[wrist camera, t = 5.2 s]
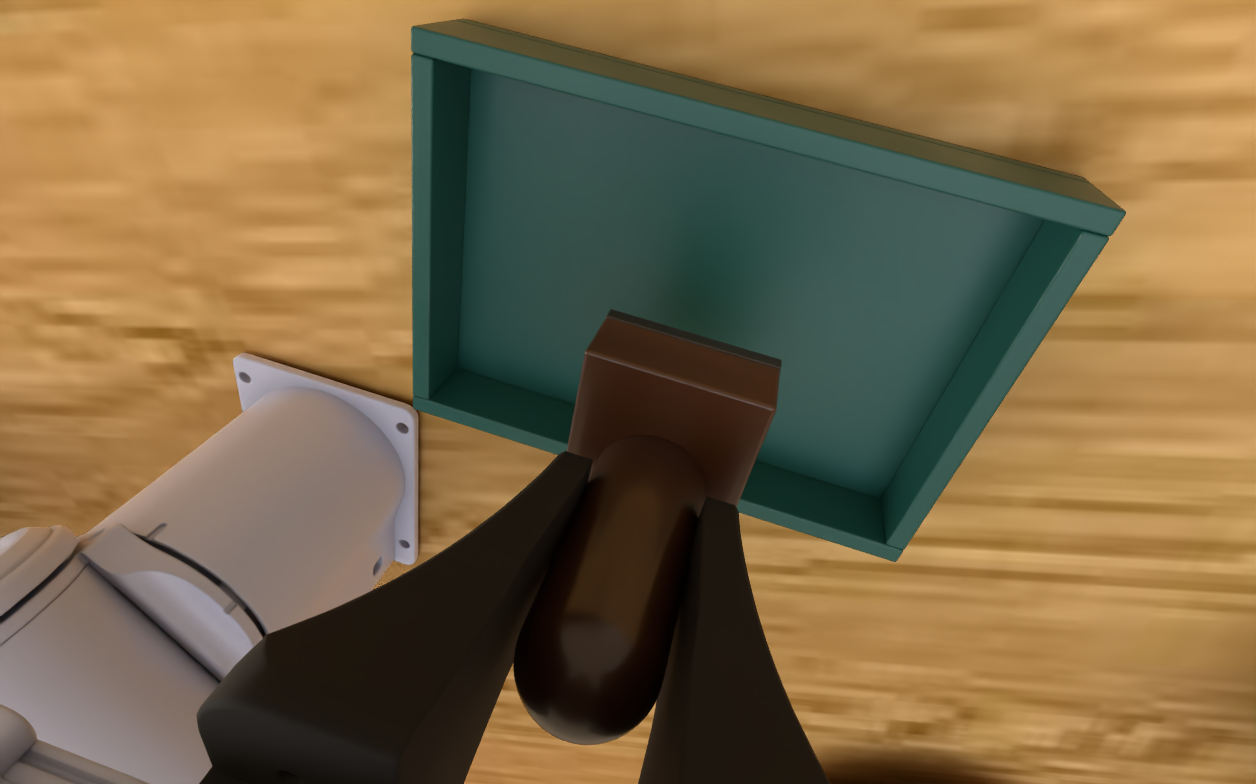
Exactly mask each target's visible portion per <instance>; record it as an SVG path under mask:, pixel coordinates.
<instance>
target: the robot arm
mask: <svg viewBox="0 0 1256 784" xmlns="http://www.w3.org/2000/svg"><path fill="white" fill-rule="evenodd" d="M233 366H234V371H235V376H236V381H237V386H238V391H239V396H240V401H241V406H242V411H243V413H241V414H240V415H239V416H237V417H236V418H235V419H234V420H232V421H231V422H230V423H228V424H227V425H226V426H224V427H223V428H222V429H221V430H219V431H218V432H217V433H215V434H214V435H213V436H211V437H210V438H209V439H208V440H206V441H205V442H204V443H202V444H201V445H200V446H199V447H197V448H196V449H195V450H193V451H192V452H191V453H189V454H188V455H187V456H186V457H184V458H183V459H182V460H180V461H179V462H178V463H176V464H175V465H174V466H173V467H171V468H170V469H169V470H167V471H166V472H165V473H164V474H162V475H161V476H160V477H158V478H157V479H156V480H154V481H153V482H152V483H151V484H149V485H148V486H147V487H145V488H144V489H143V490H142V491H140V492H139V493H138V494H136V495H135V496H134V497H132V498H131V499H130V500H129V501H127V502H126V503H125V504H123V505H122V506H121V507H119V508H118V509H117V510H116V511H114V512H113V513H112V514H110V515H109V516H108V517H107V518H105V519H104V520H103V521H101V522H100V523H99V524H97V525H96V526H95V527H94V528H92V529H91V530H90V531H88V532H87V533H86V534H83V535H80V536H77V537H76V536H75V534H74V533H73V532H72V531H71V530H70V529H69V528H68V527H66V526H64V525H55V526H51V527H25V528H21V529H19V530H16V531H14V532H12V533H10V534H8V535H6V536H4V537H2V538H0V784H464V781H465V779H466V776H467V774H468V771H469V768H470V766H471V763H472V761H473V758H474V756H475V753H476V751H477V748H478V746H479V743H480V741H481V738H482V736H483V733H484V731H485V728H486V726H487V723H488V721H489V719H490V716H491V714H492V711H493V709H494V706H495V704H496V701H497V699H498V697H499V694H500V692H501V689H502V687H503V684H504V682H505V679H506V677H507V675H508V673H509V671H510V669H511V666H512V664H513V662H514V651H515V647H516V642H517V638H518V635H519V633H520V630H521V628H522V625H523V623H524V621H525V619H526V617H527V614H528V612H529V610H530V608H531V606H532V603H533V601H534V599H535V597H536V595H537V592H538V590H539V588H540V586H541V584H542V581H543V579H544V577H545V575H546V573H547V570H548V568H549V566H550V564H551V562H552V559H553V557H554V555H555V553H556V551H557V548H558V546H559V544H560V542H561V540H562V537H563V535H564V533H565V531H566V529H567V527H568V525H569V523H570V521H571V519H572V517H573V515H574V512H575V510H576V508H577V506H578V504H579V501H580V499H581V497H582V495H583V492H584V490H585V488H586V486H587V484H588V480H589V475H590V471H591V466H592V462H593V460H592V459H589V458H586V457H583V456H580V455H577V454H574V453H570V452H567V451H564V452H562V453H560V454H559V455H558V456H557V457H556V458H555V459H554V460H553V461H552V462H551V464H550V465H549V466H548V467H547V468H546V469H545V470H544V471H543V472H542V473H541V474H540V475H539V476H538V477H537V478H535V479H534V480H533V481H532V482H531V483H530V484H529V485H528V486H527V487H526V488H525V489H524V490H522V491H521V492H520V493H519V494H518V495H517V496H515V497H514V498H513V499H512V500H511V501H509V502H508V503H507V504H506V505H505V506H504V507H502V508H501V509H500V510H499V511H498V512H496V513H495V514H494V515H492V516H491V517H490V518H488V519H487V520H486V521H484V522H483V523H482V524H480V525H479V526H478V527H476V528H475V529H474V530H473V531H471V532H470V533H469V534H467V535H466V536H464V537H463V538H461V539H460V540H458V541H457V542H456V543H454V544H453V545H451V546H450V547H448V548H447V549H445V550H443V551H442V552H440V553H439V554H437V555H435V556H434V557H432V558H431V559H429V560H427V561H426V562H424V563H422V564H421V565H419V566H417V567H415V568H414V569H412V570H410V571H408V572H407V573H405V574H403V575H401V576H399V577H398V578H396V579H394V580H392V581H390V582H388V583H386V584H384V585H382V586H380V587H378V588H376V589H374V590H372V589H373V588H374V587H375V585H376V584H377V582H378V581H379V580H380V578H381V577H382V576H383V574H384V573H385V571H386V570H387V569H388V567H389V566H390V564H391V563H392V562H393V560H394V561H397V562H400V563H403V564H407V565H411V564H413V563H415V561H416V560H417V558H418V413H417V412H416V410H415V409H413V407H412V406H410V405H408V404H406V403H403V402H399V401H396V400H393V399H390V398H387V397H384V396H381V395H377V394H374V393H371V392H368V391H365V390H362V389H359V388H355V387H352V386H349V385H346V384H343V383H340V382H337V381H333V380H330V379H327V378H324V377H321V376H318V375H314V374H311V373H308V372H305V371H302V370H299V369H296V368H292V367H289V366H286V365H283V364H280V363H277V362H274V361H270V360H267V359H264V358H261V357H258V356H255V355H252V354H248V353H241V354H239V355H237V356H236V357H235V358H234V359H233ZM402 423H403V424H405V425H406V426H407V427H408V428H407V427H406V426H404V425H403V424H402ZM638 784H831V783H830V781H829V780H828V778H827V776H826V774H825V772H824V771H823V769H822V767H821V765H820V763H819V761H818V759H817V757H816V755H815V753H814V751H813V749H812V747H811V745H810V743H809V741H808V739H807V737H806V735H805V733H804V731H803V729H802V727H801V725H800V723H799V721H798V719H797V717H796V715H795V713H794V710H793V708H792V706H791V703H790V701H789V699H788V696H787V694H786V692H785V689H784V687H783V685H782V682H781V680H780V677H779V674H778V672H777V669H776V667H775V664H774V661H773V659H772V656H771V653H770V650H769V647H768V644H767V641H766V638H765V635H764V632H763V629H762V626H761V622H760V619H759V616H758V612H757V609H756V605H755V601H754V598H753V593H752V589H751V585H750V581H749V577H748V573H747V568H746V563H745V558H744V552H743V547H742V540H741V533H740V524H739V511H738V509H737V507H736V506H735V505H733V504H730V503H726V502H723V501H720V500H717V499H714V498H711V497H708V496H706V499H705V501H704V504H703V507H702V509H701V512H700V515H699V518H698V522H697V526H696V531H695V535H694V540H693V544H692V549H691V553H690V559H689V565H688V571H687V576H686V582H685V586H684V591H683V595H682V600H681V604H680V609H679V613H678V618H677V622H676V627H675V631H674V636H673V640H672V645H671V649H670V654H669V658H668V663H667V667H666V672H665V676H664V680H663V684H662V687H661V691H660V694H659V696H658V698H657V702H656V708H655V713H654V719H653V724H652V729H651V733H650V737H649V741H648V746H647V750H646V754H645V758H644V762H643V766H642V770H641V774H640V778H639V782H638Z"/></svg>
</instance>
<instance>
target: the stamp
mask: <svg viewBox="0 0 1256 784" xmlns="http://www.w3.org/2000/svg"><path fill="white" fill-rule="evenodd" d="M781 366H782V360H781V359H778V358H774V357H771V356H768V355H764V354H761V353H757V352H754V351H751V350H747V349H744V348H741V347H737V346H734V345H731V344H727V343H724V342H721V341H717V340H714V339H710V338H707V337H704V336H700V335H697V334H694V333H690V332H687V331H684V330H680V329H677V328H674V327H670V326H667V325H663V324H660V323H657V322H653V321H650V320H647V319H643V318H640V317H637V316H633V315H630V314H627V313H623V312H620V311H617V310H613V309H610V311H609V312H608V314H607V315H606V318H605V320H604V321H603V323H602V325H601V326H600V328H599V330H598V331H597V333H596V334H595V336H594V338H593V339H592V341H591V343H590V344H589V346H588V347H587V349H586V351H585V354H584V359H583V364H582V370H581V375H580V381H579V386H578V392H577V397H576V403H575V408H574V414H573V419H572V424H571V430H570V435H569V441H568V446H567V452H570V453H574V454H577V455H580V456H583V457H586V458H589V459H592V460H593V462H592V466H591V471H590V475H589V480H588V484H587V486H586V488H585V490H584V492H583V495H582V497H581V499H580V501H579V504H578V506H577V508H576V510H575V512H574V515H573V517H572V519H571V521H570V523H569V525H568V527H567V529H566V531H565V533H564V535H563V537H562V540H561V542H560V544H559V546H558V548H557V551H556V553H555V555H554V557H553V559H552V562H551V564H550V566H549V568H548V570H547V573H546V575H545V577H544V579H543V581H542V584H541V586H540V588H539V590H538V592H537V595H536V597H535V599H534V601H533V603H532V606H531V608H530V610H529V612H528V614H527V617H526V619H525V621H524V623H523V625H522V628H521V630H520V633H519V635H518V638H517V642H516V647H515V651H514V677H515V683H516V687H517V691H518V694H519V696H520V699H521V701H522V703H523V705H524V707H525V708H526V710H527V712H528V713H529V715H530V716H531V717H532V718H533V720H534V721H535V722H536V723H537V724H538V725H539V726H540V727H541V728H542V729H544V730H545V731H546V732H548V733H549V734H551V735H553V736H555V737H557V738H559V739H561V740H563V741H566V742H570V743H574V744H579V745H595V744H603V743H606V742H609V741H613V740H616V739H618V738H620V737H622V736H623V735H625V734H627V733H628V732H630V731H631V730H632V729H634V728H635V727H636V726H638V725H639V724H640V722H641V721H642V720H643V719H644V718H645V717H646V716H647V715H648V713H649V712H650V710H651V709H652V707H653V706H654V704H655V702H656V700H657V698H658V696H659V694H660V691H661V687H662V684H663V680H664V676H665V672H666V667H667V663H668V658H669V654H670V649H671V645H672V640H673V636H674V631H675V627H676V622H677V618H678V613H679V609H680V604H681V600H682V595H683V591H684V586H685V582H686V576H687V571H688V565H689V559H690V553H691V549H692V544H693V540H694V535H695V531H696V526H697V522H698V518H699V515H700V512H701V509H702V507H703V504H704V501H705V499H706V496H708V497H711V498H714V499H717V500H720V501H723V502H726V503H730V504H733V505H735V506H736V507H737V504H738V502H739V500H740V497H741V495H742V492H743V490H744V488H745V485H746V483H747V480H748V478H749V475H750V473H751V471H752V468H753V466H754V463H755V461H756V459H757V456H758V454H759V451H760V449H761V447H762V444H763V442H764V439H765V437H766V434H767V432H768V430H769V427H770V425H771V422H772V420H773V418H774V415H775V413H776V410H777V400H778V391H779V381H780V371H781Z"/></svg>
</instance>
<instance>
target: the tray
mask: <svg viewBox="0 0 1256 784" xmlns="http://www.w3.org/2000/svg"><path fill="white" fill-rule="evenodd" d="M411 51H412V52H413V53H414V54H412V56H411V97H412V312H413V409H415V410H419V411H422V412H425V413H428V414H431V415H434V416H437V417H441V418H444V419H447V420H450V421H453V422H456V423H459V424H463V425H466V426H469V427H472V428H475V429H478V430H481V431H485V432H488V433H491V434H494V435H497V436H500V437H503V438H507V439H510V440H513V441H516V442H519V443H522V444H525V445H529V446H532V447H535V448H538V449H541V450H544V451H548V452H551V453H554V454H557V455H559V454H560V453H562V452H564V451H567V446H568V441H569V435H570V430H571V424H572V419H573V414H574V408H575V403H576V397H577V392H578V386H579V381H580V375H581V370H582V364H583V359H584V354H585V351H586V349H587V347H588V346H589V344H590V343H591V341H592V339H593V338H594V336H595V334H596V333H597V331H598V330H599V328H600V326H601V325H602V323H603V321H604V320H605V318H606V315H607V314H608V312H609V311H610V309H613V310H617V311H620V312H623V313H627V314H630V315H633V316H637V317H640V318H643V319H647V320H650V321H653V322H657V323H660V324H663V325H667V326H670V327H674V328H677V329H680V330H684V331H687V332H690V333H694V334H697V335H700V336H704V337H707V338H710V339H714V340H717V341H721V342H724V343H727V344H731V345H734V346H737V347H741V348H744V349H747V350H751V351H754V352H757V353H761V354H764V355H768V356H771V357H774V358H778V359H781V360H782V366H781V371H780V381H779V391H778V400H777V410H776V413H775V415H774V418H773V420H772V422H771V425H770V427H769V430H768V432H767V434H766V437H765V439H764V442H763V444H762V447H761V449H760V451H759V454H758V456H757V459H756V461H755V463H754V466H753V468H752V471H751V473H750V475H749V478H748V480H747V483H746V485H745V488H744V490H743V492H742V495H741V497H740V500H739V502H738V504H737V509H738V511H739V513H742V514H746V515H749V516H752V517H755V518H758V519H761V520H764V521H768V522H771V523H774V524H777V525H780V526H783V527H786V528H790V529H793V530H796V531H799V532H802V533H805V534H808V535H812V536H815V537H818V538H821V539H824V540H827V541H830V542H834V543H837V544H840V545H843V546H846V547H849V548H852V549H856V550H859V551H862V552H865V553H868V554H871V555H874V556H878V557H881V558H884V559H887V560H890V561H893V562H896V561H897V560H898V558H899V557H900V555H901V554H902V552H903V549H905V548H906V546H907V545H908V543H909V542H910V540H911V538H912V537H913V535H914V534H915V532H916V531H917V529H918V528H919V526H920V525H921V523H922V522H923V520H924V519H925V517H926V516H927V514H928V513H929V511H930V510H931V508H932V507H933V505H934V504H935V502H936V501H937V499H938V498H939V496H940V495H941V493H942V492H943V490H944V489H945V487H946V485H947V484H948V482H949V481H950V479H951V478H952V476H953V475H954V473H955V472H956V470H957V469H958V467H959V466H960V464H961V463H962V461H963V460H964V458H965V457H966V455H967V454H968V452H969V451H970V449H971V448H972V446H973V445H974V443H975V442H976V440H977V439H978V437H979V436H980V434H981V433H982V431H983V429H984V428H985V426H986V425H987V423H988V422H989V420H990V419H991V417H992V416H993V414H994V413H995V411H996V410H997V408H998V407H999V405H1000V404H1001V402H1002V401H1003V399H1004V398H1005V396H1006V395H1007V393H1008V392H1009V390H1010V389H1011V387H1012V386H1013V384H1014V383H1015V381H1016V380H1017V378H1018V376H1019V375H1020V373H1021V372H1022V370H1023V369H1024V367H1025V366H1026V364H1027V363H1028V361H1029V360H1030V358H1031V357H1032V355H1033V354H1034V352H1035V351H1036V349H1037V348H1038V346H1039V345H1040V343H1041V342H1042V340H1043V339H1044V337H1045V336H1046V334H1047V333H1048V331H1049V330H1050V328H1051V327H1052V325H1053V324H1054V322H1055V320H1056V319H1057V317H1058V316H1059V314H1060V313H1061V311H1062V310H1063V308H1064V307H1065V305H1066V304H1067V302H1068V301H1069V299H1070V298H1071V296H1072V295H1073V293H1074V292H1075V290H1076V289H1077V287H1078V286H1079V284H1080V283H1081V281H1082V280H1083V278H1084V277H1085V275H1086V274H1087V272H1088V271H1089V269H1090V267H1091V266H1092V264H1093V263H1094V261H1095V260H1096V258H1097V257H1098V255H1099V254H1100V252H1101V251H1102V249H1103V248H1104V246H1105V245H1106V243H1107V242H1108V240H1109V237H1108V236H1111V235H1112V234H1113V233H1114V231H1115V230H1116V228H1117V227H1118V225H1119V224H1120V222H1121V221H1122V219H1123V218H1124V216H1125V214H1126V211H1125V210H1123V209H1122V208H1121V207H1120V206H1118V205H1117V204H1116V203H1115V202H1113V201H1112V200H1111V199H1110V198H1108V197H1107V196H1106V195H1105V194H1103V193H1102V192H1101V191H1100V190H1099V189H1097V188H1096V187H1095V186H1094V185H1092V184H1091V183H1090V182H1089V181H1087V180H1086V179H1085V178H1084V177H1080V176H1076V175H1072V174H1068V173H1064V172H1060V171H1056V170H1052V169H1048V168H1045V167H1041V166H1037V165H1033V164H1029V163H1025V162H1021V161H1017V160H1013V159H1009V158H1006V157H1002V156H998V155H994V154H990V153H986V152H982V151H978V150H974V149H970V148H967V147H963V146H959V145H955V144H951V143H947V142H943V141H939V140H935V139H931V138H928V137H924V136H920V135H916V134H912V133H908V132H904V131H900V130H896V129H892V128H888V127H885V126H881V125H877V124H873V123H869V122H865V121H861V120H857V119H853V118H849V117H846V116H842V115H838V114H834V113H830V112H826V111H822V110H818V109H814V108H810V107H807V106H803V105H799V104H795V103H791V102H787V101H783V100H779V99H775V98H771V97H768V96H764V95H760V94H756V93H752V92H748V91H744V90H740V89H736V88H732V87H729V86H725V85H721V84H717V83H713V82H709V81H705V80H701V79H697V78H693V77H690V76H686V75H682V74H678V73H674V72H670V71H666V70H662V69H658V68H654V67H651V66H647V65H643V64H639V63H635V62H631V61H627V60H623V59H619V58H615V57H612V56H608V55H604V54H600V53H596V52H592V51H588V50H584V49H580V48H576V47H573V46H569V45H565V44H561V43H557V42H553V41H549V40H545V39H541V38H537V37H534V36H530V35H526V34H522V33H518V32H514V31H510V30H506V29H502V28H498V27H495V26H491V25H487V24H483V23H479V22H475V21H471V20H467V19H458V20H451V21H444V22H438V23H431V24H424V25H417V26H412V28H411Z"/></svg>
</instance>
